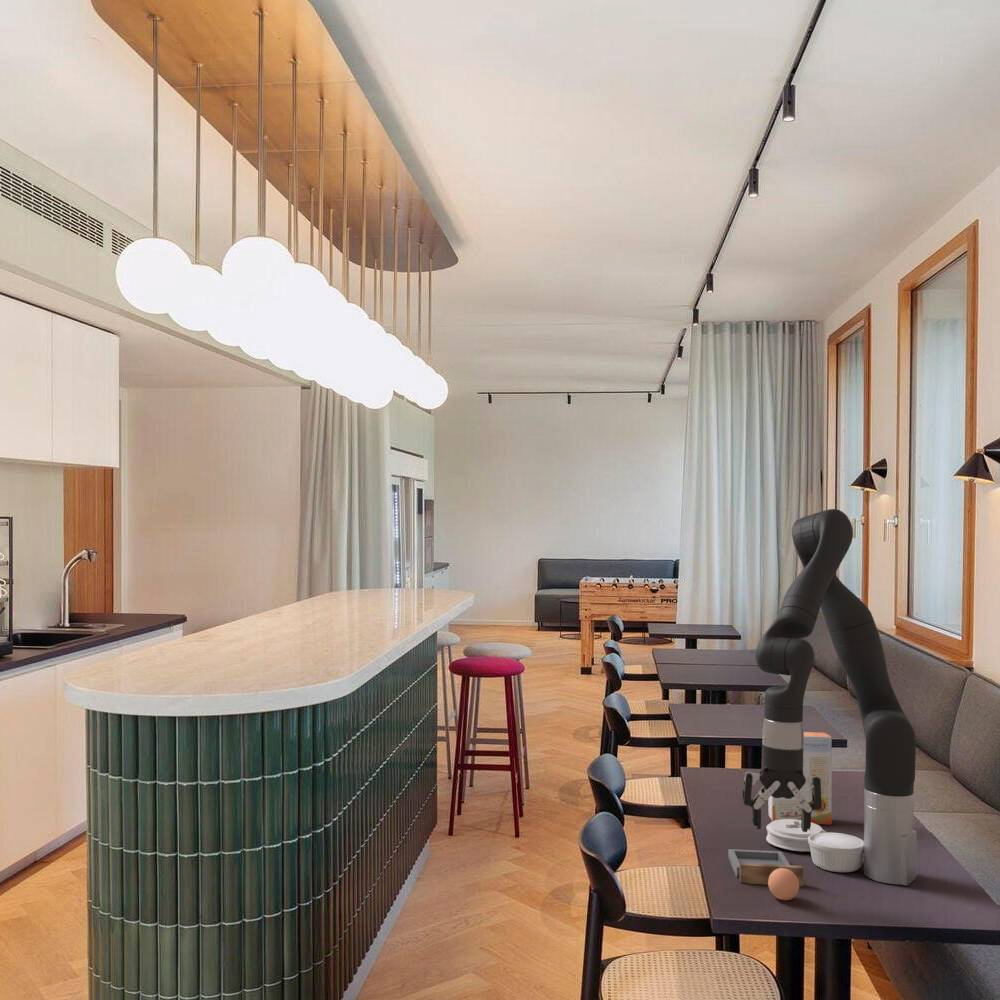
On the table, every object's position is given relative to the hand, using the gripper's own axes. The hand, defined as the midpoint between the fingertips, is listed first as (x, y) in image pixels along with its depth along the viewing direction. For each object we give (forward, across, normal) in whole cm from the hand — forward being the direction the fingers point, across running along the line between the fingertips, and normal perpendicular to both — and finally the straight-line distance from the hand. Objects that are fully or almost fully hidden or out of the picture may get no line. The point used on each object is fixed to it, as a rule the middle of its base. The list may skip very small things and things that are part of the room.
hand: (780, 829), depth 181 cm
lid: (+13, -9, -32) cm, 36 cm away
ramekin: (+13, -15, -20) cm, 28 cm away
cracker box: (+13, -14, -51) cm, 54 cm away
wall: (+13, 0, -7) cm, 15 cm away
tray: (+13, +1, -15) cm, 20 cm away
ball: (+10, -1, +1) cm, 10 cm away
